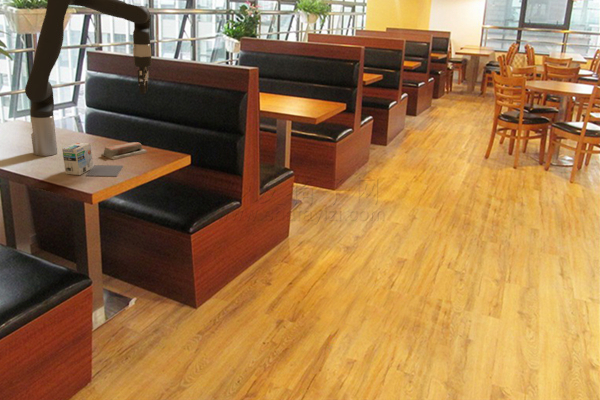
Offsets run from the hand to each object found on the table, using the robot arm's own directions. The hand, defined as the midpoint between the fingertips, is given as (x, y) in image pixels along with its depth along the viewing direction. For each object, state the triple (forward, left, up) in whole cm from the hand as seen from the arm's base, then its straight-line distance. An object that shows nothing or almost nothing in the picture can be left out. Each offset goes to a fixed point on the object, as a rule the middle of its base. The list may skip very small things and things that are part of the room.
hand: (144, 92), depth 247 cm
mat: (-13, -24, -29) cm, 40 cm away
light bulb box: (-23, -25, -29) cm, 45 cm away
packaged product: (-10, +2, -30) cm, 32 cm away
